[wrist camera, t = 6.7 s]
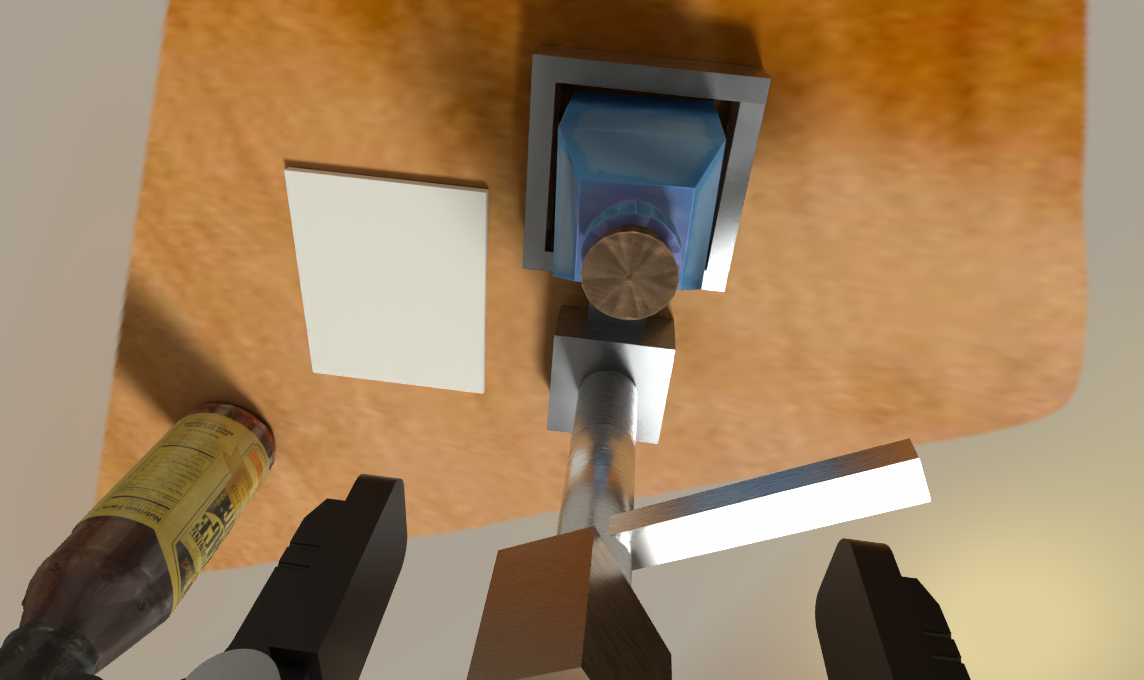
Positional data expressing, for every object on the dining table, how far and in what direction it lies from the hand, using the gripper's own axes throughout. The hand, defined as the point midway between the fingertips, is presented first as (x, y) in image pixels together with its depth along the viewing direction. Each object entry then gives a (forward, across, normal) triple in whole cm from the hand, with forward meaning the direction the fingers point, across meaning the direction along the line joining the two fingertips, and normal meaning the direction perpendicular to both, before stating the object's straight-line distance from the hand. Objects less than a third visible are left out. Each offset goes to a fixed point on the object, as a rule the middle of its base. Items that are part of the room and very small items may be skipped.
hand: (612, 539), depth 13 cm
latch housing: (+23, 0, +5) cm, 23 cm away
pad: (+23, +12, +8) cm, 27 cm away
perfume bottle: (+23, 0, 0) cm, 23 cm away
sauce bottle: (+23, +23, +20) cm, 38 cm away
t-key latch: (+20, -4, +8) cm, 22 cm away
